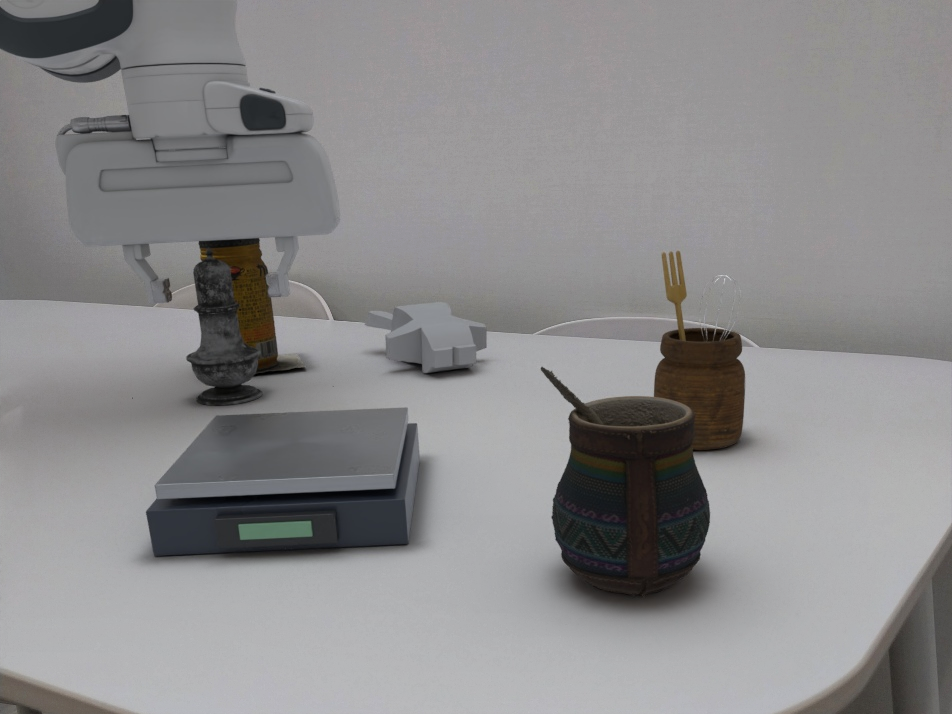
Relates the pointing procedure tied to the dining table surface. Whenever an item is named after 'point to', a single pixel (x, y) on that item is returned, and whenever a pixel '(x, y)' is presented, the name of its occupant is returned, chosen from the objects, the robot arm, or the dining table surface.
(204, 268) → the salt shaker
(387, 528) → the scale
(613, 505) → the mate gourd
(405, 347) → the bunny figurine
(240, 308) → the condiment
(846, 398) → the dining table surface
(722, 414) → the utensil holder
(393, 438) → the scale pan
